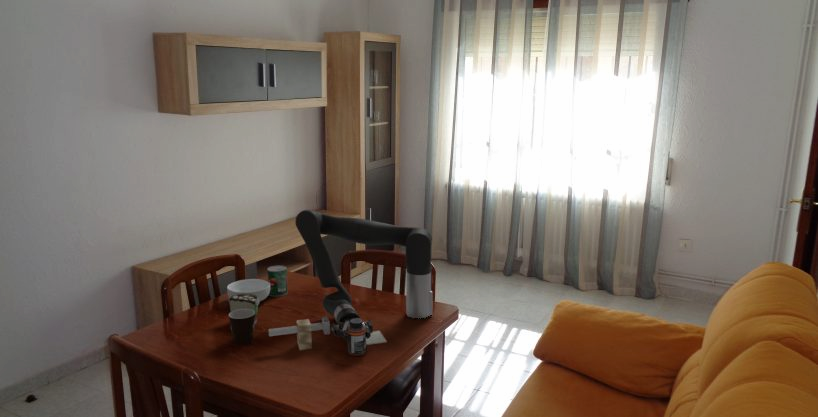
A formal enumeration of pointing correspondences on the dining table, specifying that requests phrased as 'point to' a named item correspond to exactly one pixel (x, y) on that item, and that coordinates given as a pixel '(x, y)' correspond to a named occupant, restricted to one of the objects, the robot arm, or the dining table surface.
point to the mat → (375, 338)
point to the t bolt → (294, 329)
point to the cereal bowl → (250, 287)
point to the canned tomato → (277, 280)
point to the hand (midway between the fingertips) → (358, 337)
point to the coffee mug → (242, 326)
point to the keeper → (304, 334)
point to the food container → (244, 302)
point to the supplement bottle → (357, 337)
